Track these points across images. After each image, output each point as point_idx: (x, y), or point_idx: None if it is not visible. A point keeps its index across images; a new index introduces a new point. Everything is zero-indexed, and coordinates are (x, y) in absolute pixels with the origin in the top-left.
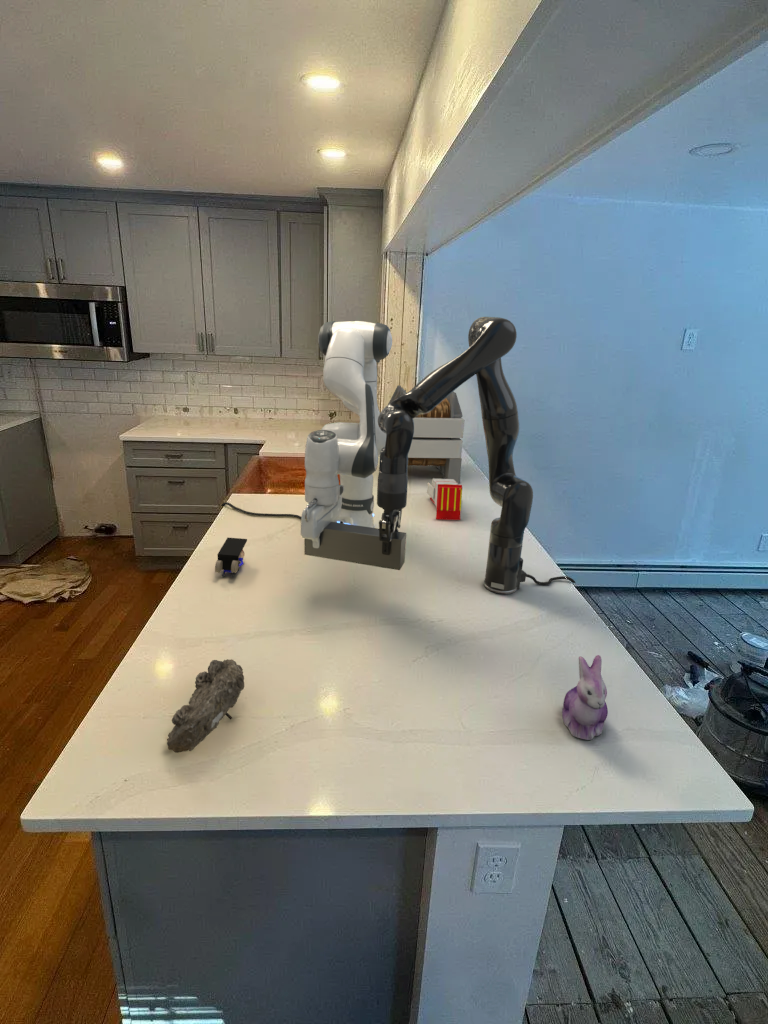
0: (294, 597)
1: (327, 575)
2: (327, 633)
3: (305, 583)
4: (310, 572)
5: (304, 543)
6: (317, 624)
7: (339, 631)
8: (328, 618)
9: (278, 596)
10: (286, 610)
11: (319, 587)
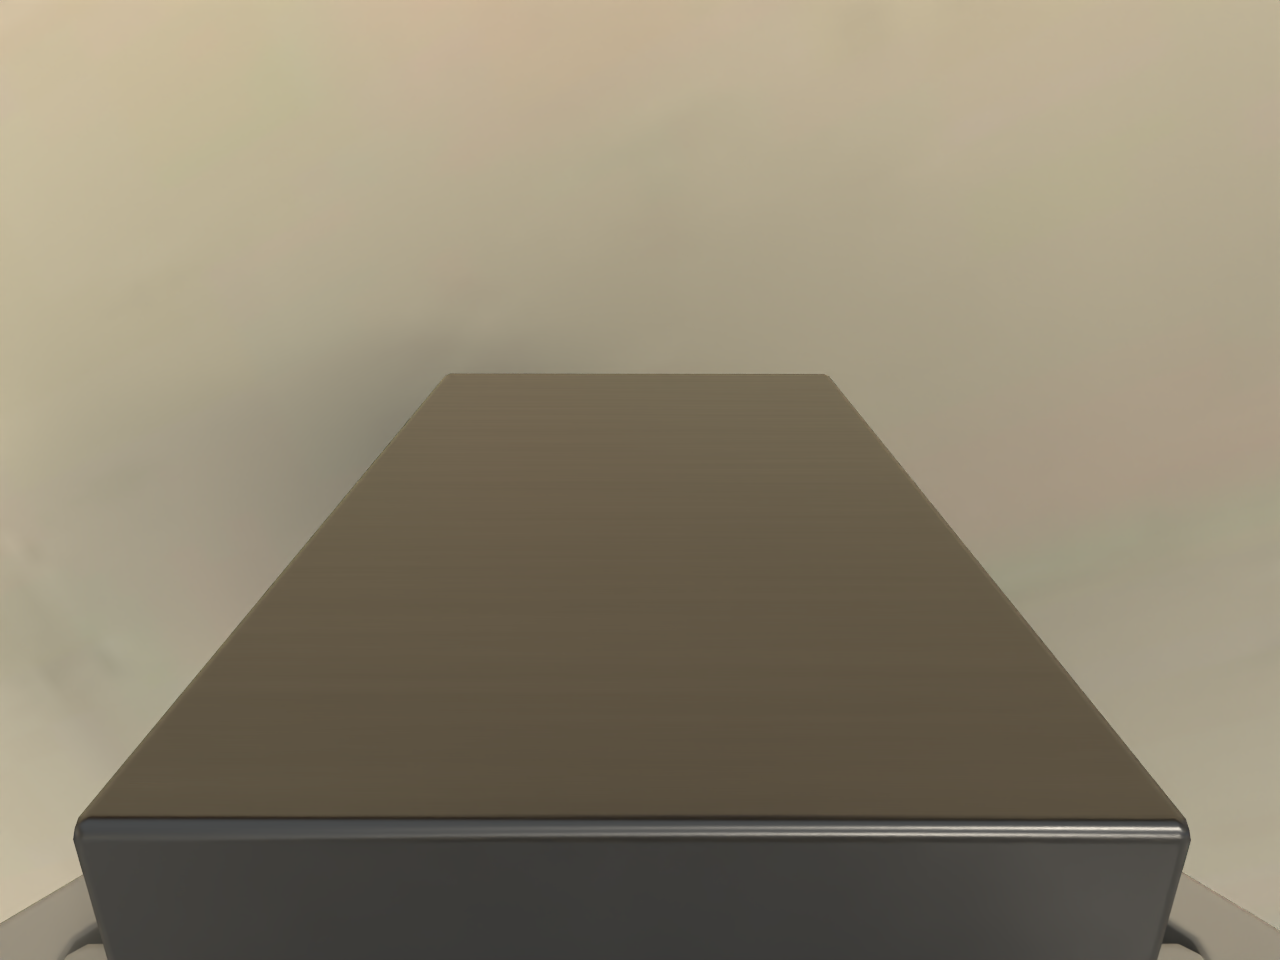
0: (406, 200)
1: (1008, 336)
2: (6, 704)
3: (751, 178)
4: (1043, 115)
5: (378, 456)
6: (76, 594)
7: (83, 768)
8: (208, 638)
9: (346, 9)
10: (130, 240)
11: (711, 361)
